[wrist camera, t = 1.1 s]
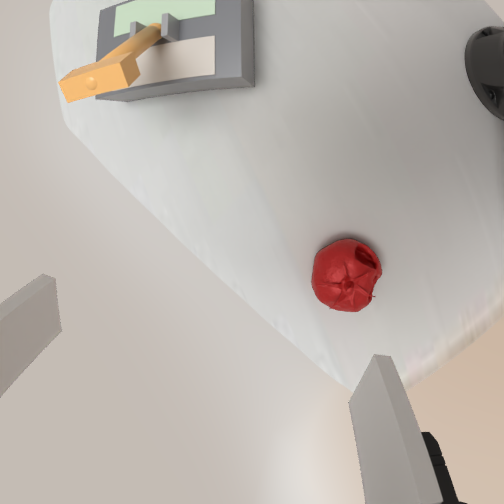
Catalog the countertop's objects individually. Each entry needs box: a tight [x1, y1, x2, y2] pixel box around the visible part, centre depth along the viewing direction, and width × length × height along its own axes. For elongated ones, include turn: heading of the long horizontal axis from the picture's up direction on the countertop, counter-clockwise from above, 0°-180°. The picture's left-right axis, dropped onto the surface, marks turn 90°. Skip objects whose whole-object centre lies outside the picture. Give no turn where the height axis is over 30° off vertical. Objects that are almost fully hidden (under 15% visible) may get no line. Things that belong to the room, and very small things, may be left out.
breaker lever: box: [58, 23, 162, 103], centre depth 25 cm, size 7×2×16 cm
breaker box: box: [96, 0, 255, 102], centre depth 32 cm, size 20×14×11 cm
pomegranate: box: [311, 239, 382, 312], centre depth 40 cm, size 10×10×9 cm
